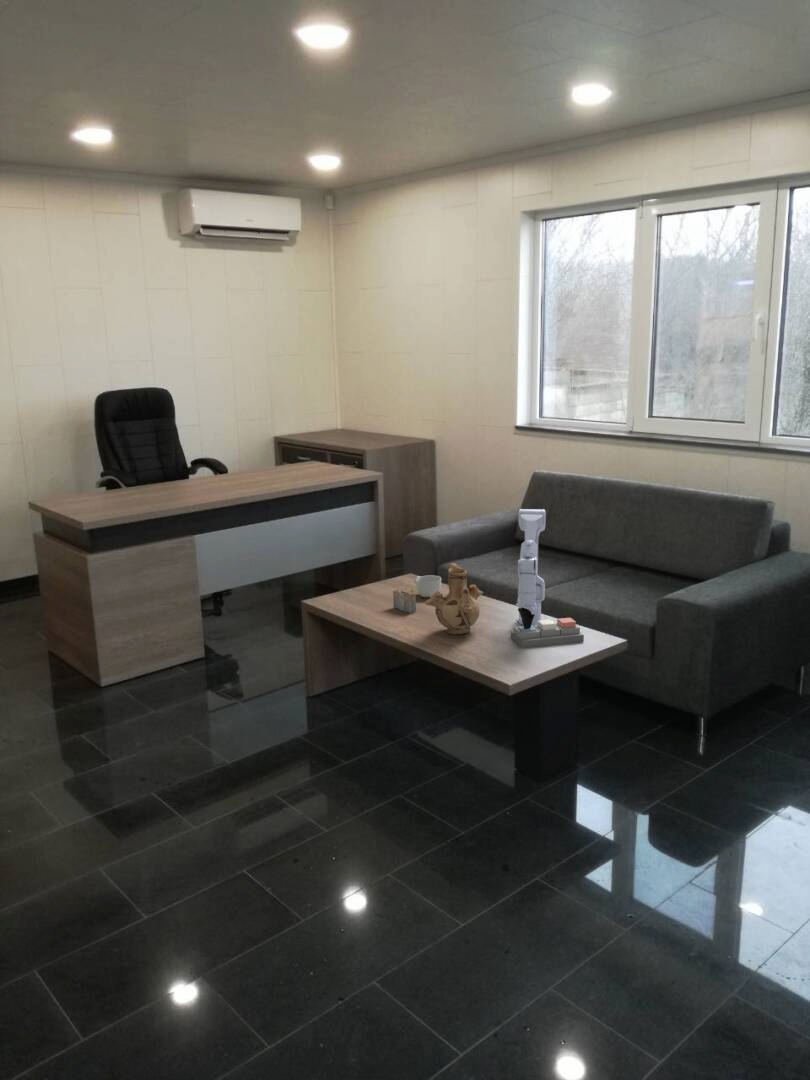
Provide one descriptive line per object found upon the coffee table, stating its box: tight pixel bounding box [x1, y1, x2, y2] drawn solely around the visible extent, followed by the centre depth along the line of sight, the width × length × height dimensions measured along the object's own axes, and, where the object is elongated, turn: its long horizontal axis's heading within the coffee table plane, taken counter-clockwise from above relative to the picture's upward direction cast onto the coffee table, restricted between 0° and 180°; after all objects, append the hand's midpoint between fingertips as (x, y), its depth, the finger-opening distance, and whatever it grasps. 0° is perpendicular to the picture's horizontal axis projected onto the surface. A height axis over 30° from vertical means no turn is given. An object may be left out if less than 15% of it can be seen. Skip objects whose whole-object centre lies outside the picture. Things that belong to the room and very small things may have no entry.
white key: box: [538, 619, 557, 631], centre depth 306 cm, size 5×5×2 cm
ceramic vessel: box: [424, 562, 484, 635], centre depth 316 cm, size 18×19×25 cm
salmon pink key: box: [556, 617, 577, 629], centre depth 307 cm, size 5×5×2 cm
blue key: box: [517, 625, 536, 632], centre depth 304 cm, size 5×5×2 cm
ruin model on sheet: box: [392, 588, 417, 614], centre depth 346 cm, size 11×3×10 cm, turn 39°
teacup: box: [414, 574, 442, 598], centre depth 366 cm, size 14×11×8 cm
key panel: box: [510, 622, 585, 649], centre depth 306 cm, size 12×23×4 cm, turn 103°
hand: (527, 628), depth 304 cm, fingers closed, pressing on blue key
